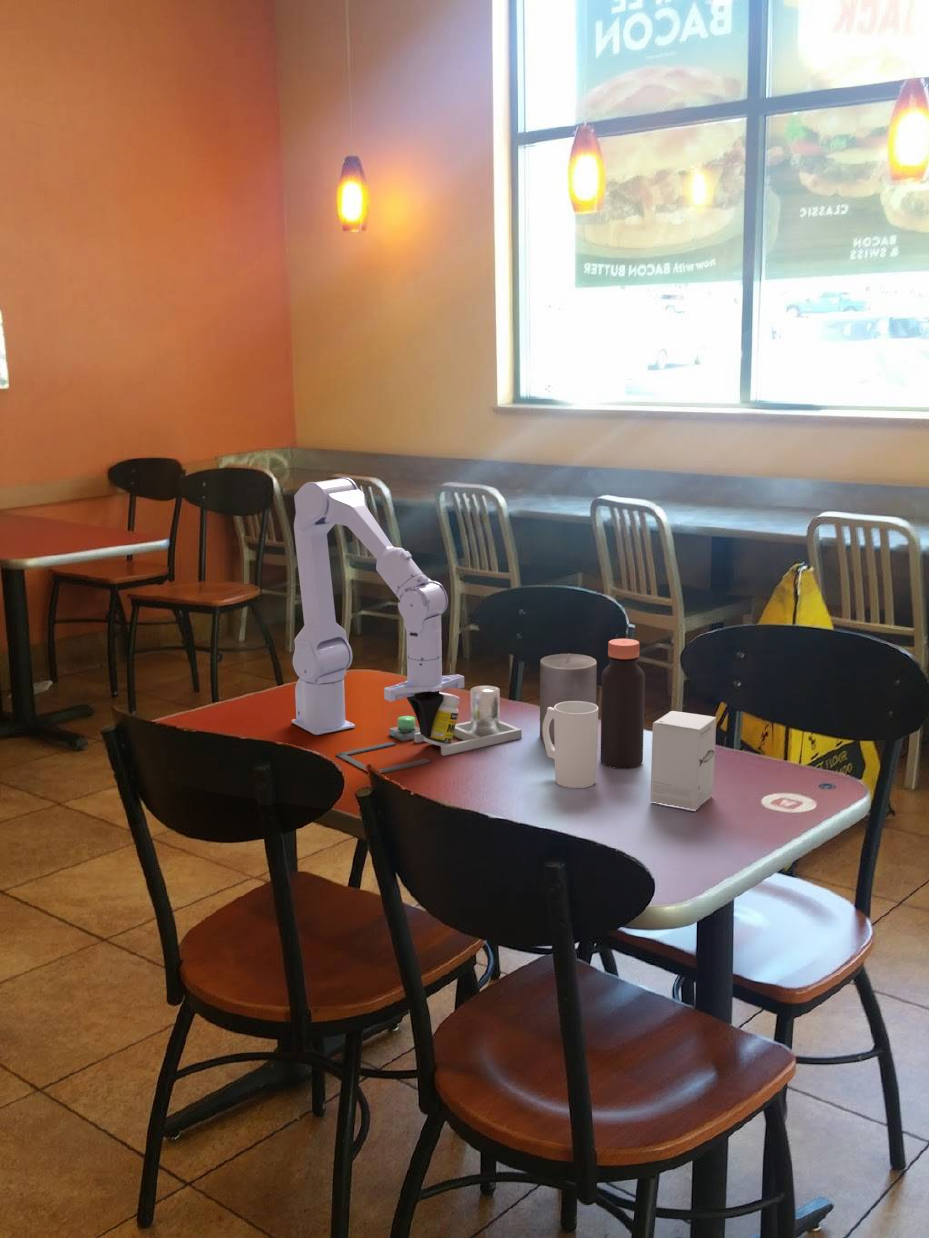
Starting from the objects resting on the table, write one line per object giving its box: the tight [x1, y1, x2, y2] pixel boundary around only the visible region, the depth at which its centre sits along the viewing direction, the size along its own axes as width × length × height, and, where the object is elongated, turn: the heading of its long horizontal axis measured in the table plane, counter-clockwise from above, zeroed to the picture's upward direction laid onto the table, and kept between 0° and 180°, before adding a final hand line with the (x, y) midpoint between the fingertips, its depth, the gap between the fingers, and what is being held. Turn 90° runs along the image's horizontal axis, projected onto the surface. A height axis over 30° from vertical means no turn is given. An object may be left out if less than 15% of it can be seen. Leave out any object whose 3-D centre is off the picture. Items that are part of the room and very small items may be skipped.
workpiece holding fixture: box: [413, 720, 522, 757], centre depth 211 cm, size 9×16×2 cm, turn 124°
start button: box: [397, 715, 416, 732], centre depth 213 cm, size 3×3×3 cm
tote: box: [335, 741, 431, 774], centre depth 202 cm, size 12×11×1 cm
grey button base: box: [388, 725, 420, 742], centre depth 213 cm, size 4×4×1 cm
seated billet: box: [470, 685, 501, 737], centre depth 212 cm, size 5×5×8 cm
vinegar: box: [600, 638, 646, 769], centre depth 197 cm, size 7×7×20 cm
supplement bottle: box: [424, 691, 460, 747], centre depth 207 cm, size 5×5×8 cm
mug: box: [542, 701, 600, 789], centre depth 191 cm, size 10×7×12 cm, turn 45°
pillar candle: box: [539, 652, 598, 746], centre depth 210 cm, size 10×10×15 cm
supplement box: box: [649, 710, 717, 809], centre depth 181 cm, size 7×7×13 cm
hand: (425, 735), depth 206 cm, fingers closed, pressing on supplement bottle
